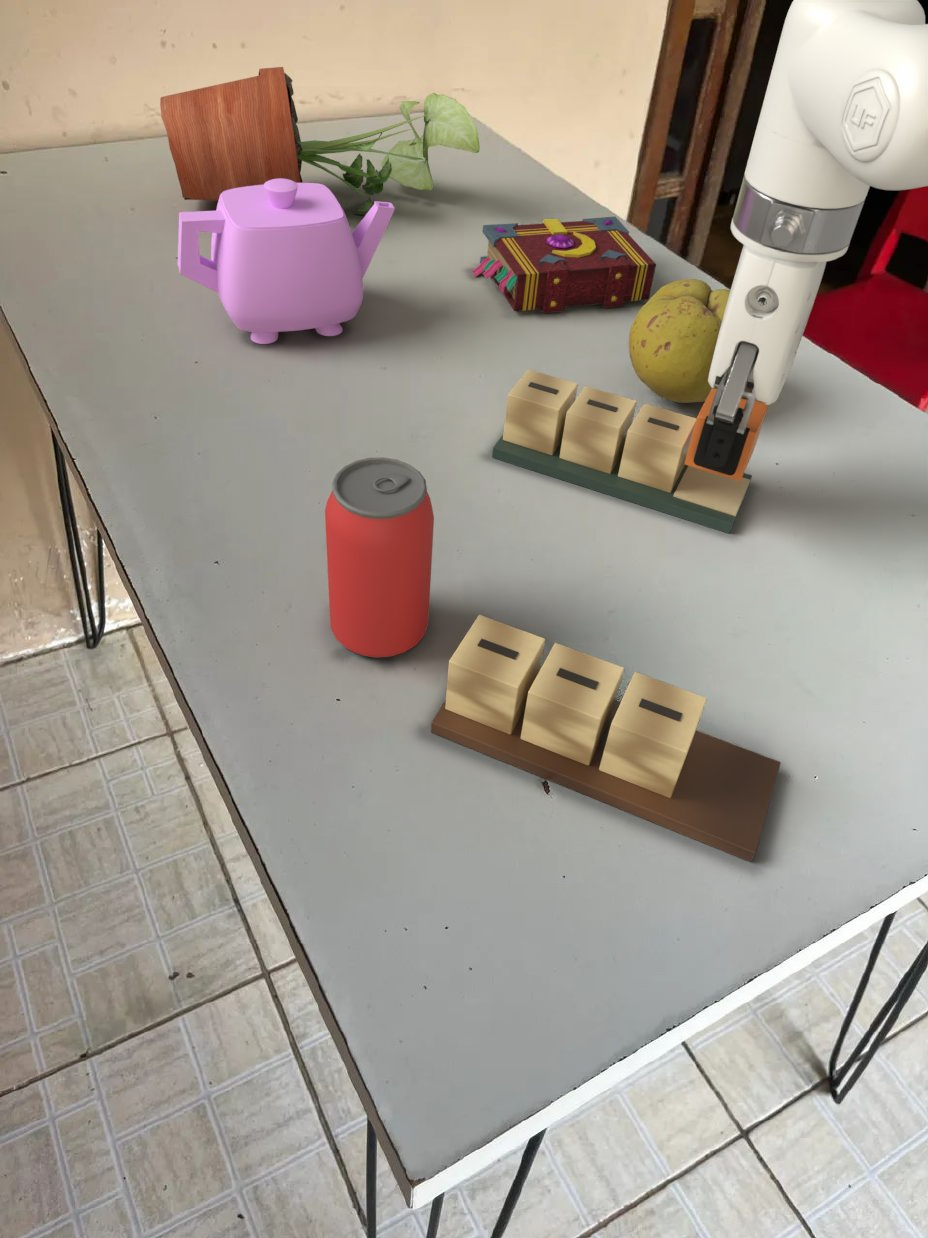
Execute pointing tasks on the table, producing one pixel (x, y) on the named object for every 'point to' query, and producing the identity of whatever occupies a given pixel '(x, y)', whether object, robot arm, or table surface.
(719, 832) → the slotted cubes on board
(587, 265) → the decorative book
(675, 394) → the fruit
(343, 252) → the teapot
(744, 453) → the orange slotted cube
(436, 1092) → the table surface
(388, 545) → the beer can
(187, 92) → the potted plant
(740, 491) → the slotted cube rack
